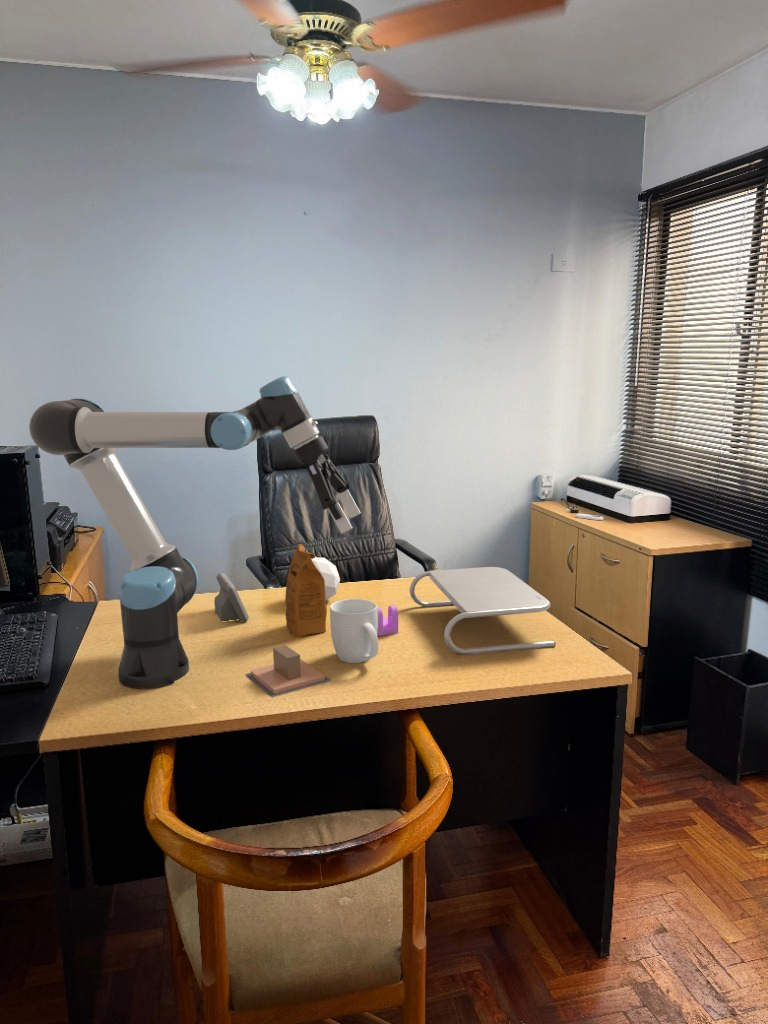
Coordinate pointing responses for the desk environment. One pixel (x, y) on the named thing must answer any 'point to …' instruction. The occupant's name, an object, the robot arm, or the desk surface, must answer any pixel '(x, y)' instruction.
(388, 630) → the bracket
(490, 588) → the monitor stand
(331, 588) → the geodesic sphere
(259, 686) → the mat
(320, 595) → the coffee package
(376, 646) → the mug
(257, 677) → the lid
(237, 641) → the desk surface
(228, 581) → the digital clock
